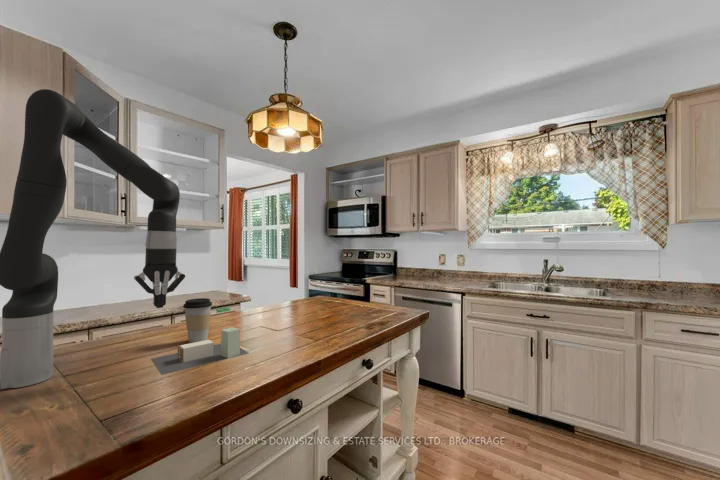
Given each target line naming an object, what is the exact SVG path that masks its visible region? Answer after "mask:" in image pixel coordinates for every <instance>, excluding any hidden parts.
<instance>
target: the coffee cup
mask: <svg viewBox="0 0 720 480" xmlns="http://www.w3.org/2000/svg"><path fill="white" fill-rule="evenodd" d="M212 305H213V302H212V301H211V299H210V298H207V297H202V298H192V299H188V300H187V299H186V300H185V303H184V304H183V305H182V308H183V309H184V312H185V314H184V315H185V325H186V330H187V331H186V332H187V337H188V338H187V339H188V342H189V343H195V342H200V341H205V340H208V338H209V337H208V335H209V329H210V324H211V323H210V321H211V308H212Z"/></svg>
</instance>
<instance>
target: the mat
mask: <svg viewBox="0 0 720 480" xmlns="http://www.w3.org/2000/svg"><path fill="white" fill-rule="evenodd" d="M248 354H250V352H248V351H246V350H245V349H243V348H242V347H240V355H237V356H234V357H231V358H226V357H223V356H221V343H218V344H213V355H212V356H208V357H204V358H200V359H195V360H191V361H187V362H182V363H181V362H180V361H179V360H178V352H175V353H171V354H170V353H169V354H167V355H166V354H165V355H161V356H156V357H151V358H150V360H151V362H152V363H153V364H154V366H155V368H156V369H157V371H158V372H159V373H160V375H161V376H164V375H167V374H171V373H175V372H180V371H184V370H188V369H192V368H196V367H200V366H204V365H207V364H212V363H217V362H219V361H224V360H228V359H232V358H236V357H240V356H245V355H248Z"/></svg>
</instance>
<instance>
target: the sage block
mask: <svg viewBox="0 0 720 480" xmlns="http://www.w3.org/2000/svg"><path fill="white" fill-rule="evenodd" d="M240 340H241V329H240V328H237V327H234V326H232V327H228V328H224V329H221V330H220V344H221V356H223V357H226V358H229V359H232V358H231V357H233V358H235V357H234V356H237V355H240V348H241V341H240ZM237 357H238V356H237Z"/></svg>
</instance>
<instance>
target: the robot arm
mask: <svg viewBox="0 0 720 480" xmlns="http://www.w3.org/2000/svg"><path fill="white" fill-rule="evenodd" d="M24 115H25V116H24V134H23V135H24V137H23V145H22V150H21V156H20V162H19V167H18V168H19V169H18V172H17V176H16V181H15V186H14V190H13V197H12V198H13V199H12V205H11V210H10V214H9V219H8V223H7V229H6V230H7V231H6V234H5V237H4V239H3V243H2V246H1V249H0V286H1V287H3V288H4V289H7V290H9V291H12V292H11V293H12V294H11V296H10V298H9V300H8V301H7V302H6V303H5V304H4V305H3V307H2V310H1V349H0V390H5V389H16V388H23V387H28V386H29V387H30V386H32V385H36V384H39V383H43V382H45V381H47V380H49V379H50V378H53V376H54V306H55V303H56V301H57V299H58V290H59V289H58V286H59V267H58V264H57V261H56V260H55V259H54V258H53V257H52V256H50V254H49V255H48V254H46V253H45V252H44V253H43V250H44V244H45V238H46V236H47V234H48V232H49V230H50V228H51V227H52V225H53V223H54V222H55V220H56V219H57V217H58V216H59V214H60V212H61V210H62V209H63V205H64V202H65V196H66V192H67V186H68V185H67V183H68V181H67V174H66V169H65V166H64V162H63V158H62V157H63V156H62V150H61V149H62V148H61V147H62V144H61V143H62V139H63V136H65V137H67V138H68V139H71V140H73V141H74V142H76V143H78V144H79V145H82V146H83V147H84V148H86V149H87V150H89V151H90V152H91V153H92V154H94V155H95V156H96V157H97V158H98V159H99V160H100V161H102V163H104V164H105V165H107V167H109V168H110V169H111V170H113V172H116V173H117V174H118V175H120V177H123V178H124V179H125V180H126V181H128V182H130V183H132V184H133V185H134V186H135V187H136V188H138V189H139V191H141V192H142V193H143V194H145V196H147V197H149V198H150V199H152V200H153V201H152V203H153V204H152V209H151V211H150V212H149V213H148V216H147V233H146V236H145V237H146V238H145V243H144V245H145V260H144V261H145V263H144V264H145V265H144V267H143V269H142V271H141V273H139V274H137V275H134V276H133V279H134V280H135V282H137V283H138V284H139V286H141V288H142V289H143V290H144V291H146V292H147V294H151V295H153V301H152V302H153V306H154V307H155V308H156V309H162V308H164V306H166V304H167V294H169V293H172V292H174V291H175V290H176V289H177V287H179V285H180V284H181V283H182V282H183V281H184V279H185V278H186V275H185V273H182V272H180V271H179V269H178V266H177V242H178V241H177V240H178V239H177V213H178V210H179V205H180V199H181V198H180V197H181V194H180V192H181V191H180V188H179V186H178V185H177V184H176V183H175V182H174V181H172V180H170V179H169V178H168V177H165V176H164V175H163V174H162V173H160V172H159V171H157V170H156V169H154V168H152V167H151V166H150V165H149V164H148V163H147V162H146V161H145V160H143V159H142V158H141V157H139V156H138V155H137V154H136V153H134V152H133V151H132V150H130V149H128V148H127V147H126V146H124V145H122V144H121V143H120V142H118V141H116V140H115V139H113V138H112V137H110V136H109V135H107V134H106V133H105V132H104V131H102V130H101V128H99V127H98V126H97V125H95V123H93V121H92V120H91V119H90V118H89V117H88V116H87V115H86V114H85V113H84V112H83V111H82V110H81V109H80V107H78V105H76V104H75V103H74V102H72V101H71V100H69V99H68V98H67V97H65V96H63V95H62V94H60V93H59V92H57V91H55V90H52V89H47V88H44V89H38V90H36V91H34V92H32V94H31V95H30V96H29V97H28V99H27V101H26V105H25V114H24ZM173 277H174V278H175V279H174V280H173V281H172V283H170V284H169V282H170V281H171V280H172V279H173ZM146 278H147V279H148V280H149V281H150V282H151V283H152V288H151V287H150V286H149V285H148V283H146V282H145V281H146Z"/></svg>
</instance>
